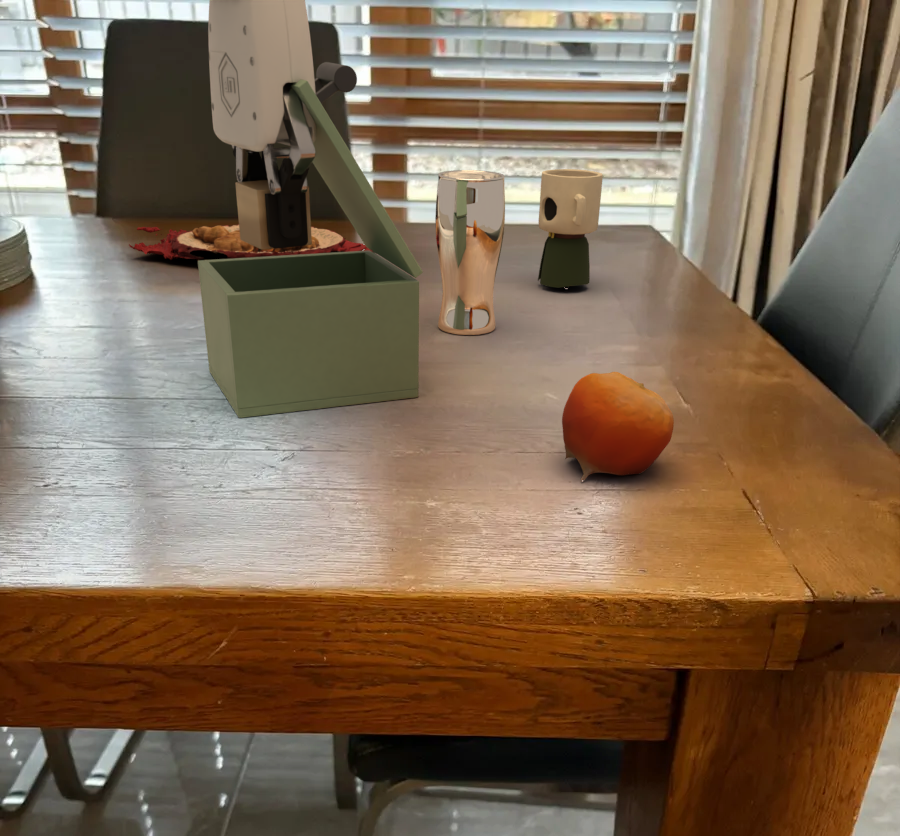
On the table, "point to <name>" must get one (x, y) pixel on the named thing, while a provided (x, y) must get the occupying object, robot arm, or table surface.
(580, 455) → the fruit
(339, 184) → the chest door
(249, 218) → the block
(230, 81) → the robot arm
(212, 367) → the chest
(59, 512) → the table surface
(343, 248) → the plate with food
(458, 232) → the beer glass
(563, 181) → the character mug
